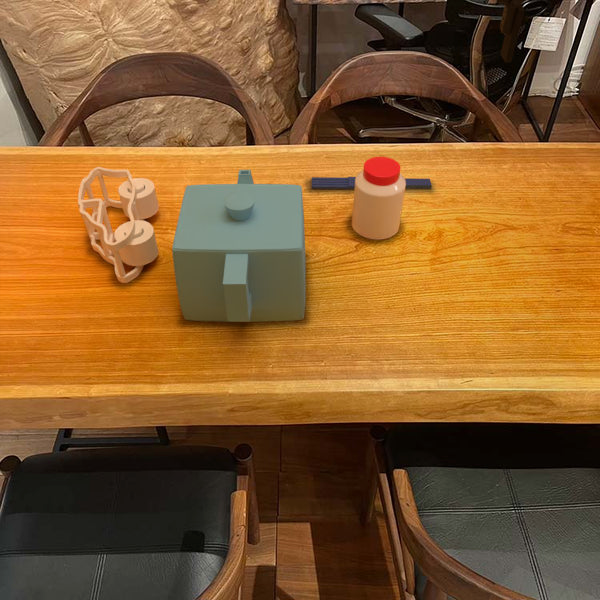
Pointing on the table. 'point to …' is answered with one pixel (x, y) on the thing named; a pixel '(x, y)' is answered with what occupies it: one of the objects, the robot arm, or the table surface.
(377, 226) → the pill bottle
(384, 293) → the table surface
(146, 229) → the wheeled car silhouette
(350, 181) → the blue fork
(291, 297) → the container
